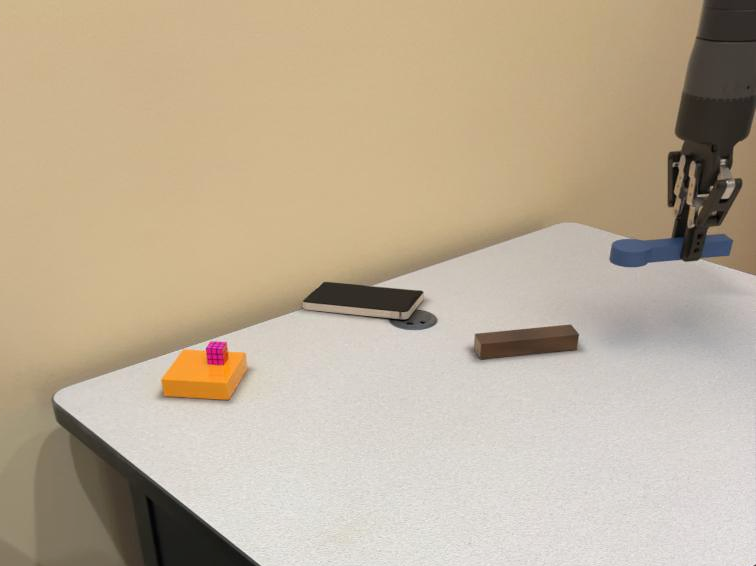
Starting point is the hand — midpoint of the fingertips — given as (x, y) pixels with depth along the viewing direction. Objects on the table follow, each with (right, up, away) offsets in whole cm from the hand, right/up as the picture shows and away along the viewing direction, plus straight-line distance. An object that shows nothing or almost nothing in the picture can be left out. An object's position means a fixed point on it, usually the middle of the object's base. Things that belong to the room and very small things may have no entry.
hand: (684, 255), depth 104 cm
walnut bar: (-17, -9, +5) cm, 20 cm away
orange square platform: (-56, -14, +3) cm, 58 cm away
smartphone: (-36, 0, +19) cm, 41 cm away
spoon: (-2, 0, 0) cm, 2 cm away
